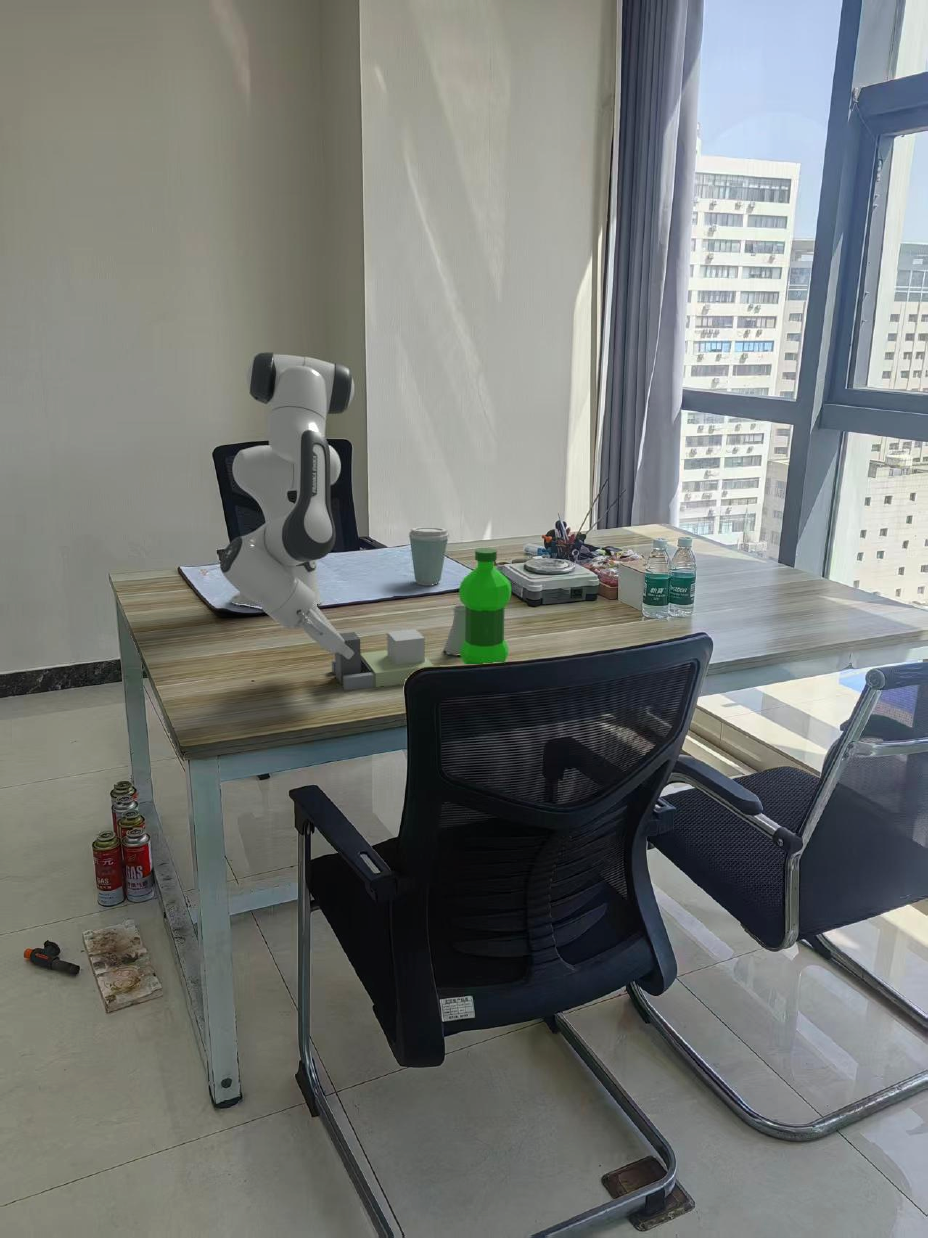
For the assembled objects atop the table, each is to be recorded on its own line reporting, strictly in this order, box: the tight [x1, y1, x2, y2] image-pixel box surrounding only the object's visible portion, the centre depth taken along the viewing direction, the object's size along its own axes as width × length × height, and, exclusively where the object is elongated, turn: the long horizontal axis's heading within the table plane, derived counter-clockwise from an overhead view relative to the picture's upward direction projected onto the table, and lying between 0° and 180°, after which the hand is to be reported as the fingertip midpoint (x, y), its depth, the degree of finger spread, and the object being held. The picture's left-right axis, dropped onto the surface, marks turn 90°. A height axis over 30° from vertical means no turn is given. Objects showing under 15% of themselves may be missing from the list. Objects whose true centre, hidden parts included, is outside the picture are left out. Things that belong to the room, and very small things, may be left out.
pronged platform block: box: [331, 628, 435, 691], centre depth 196 cm, size 18×12×8 cm, turn 111°
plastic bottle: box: [458, 547, 512, 665], centre depth 198 cm, size 10×10×25 cm
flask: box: [443, 604, 466, 654], centre depth 210 cm, size 7×7×10 cm
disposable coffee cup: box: [408, 526, 450, 586], centre depth 261 cm, size 11×11×15 cm
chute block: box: [334, 631, 362, 686], centre depth 194 cm, size 4×4×9 cm
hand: (344, 647), depth 193 cm, fingers open, 8 cm apart
